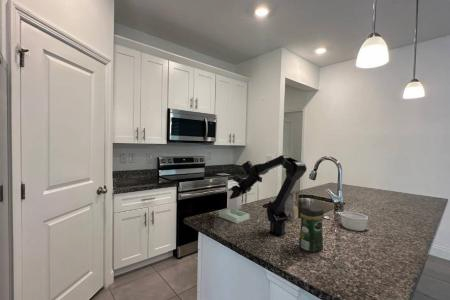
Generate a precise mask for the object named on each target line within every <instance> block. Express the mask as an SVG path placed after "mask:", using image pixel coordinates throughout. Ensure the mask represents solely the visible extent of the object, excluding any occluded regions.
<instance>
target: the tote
mask: <svg viewBox="0 0 450 300" xmlns="http://www.w3.org/2000/svg"><path fill="white" fill-rule="evenodd" d="M218 217H219V218H222V219H224V220H227V221H229V222H232V223H235V224H239V223H242V222H245V221H248V220H250V213H248V212H244V211H241V210H237V211H235V210H229V209H228V208H227V209H223V210H219V211H218Z"/></svg>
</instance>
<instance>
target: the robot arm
mask: <svg viewBox="0 0 450 300" xmlns="http://www.w3.org/2000/svg"><path fill="white" fill-rule="evenodd" d="M240 166H241V169H242V171H243V172H244V174H245V175H246V177H245V178H244V177H242V176H241V175H239V174H234V175H233V176H232V181H233V182H236V183H237V184H235V185H232V186H231V187H230V188H231V190H232V191H233V193H232V194H231V196H230V199H233V198H236V197H239V196H241V197H242V195H245V194H247V193H249V192H250V191H252V187H253V186H254V185H255V184H256V183H257V182H259V183H262V182H263V177H262V176H264V175H266V174H267V173H269V171H270V170H273V169H274V168H277V167H281V166H282V167H283V169H285V178H284V181H283V183H282V185H281V187H280V189H279V191H278V193H277V195H276V197H275V199H274V200H269V201H268V205H267V206H266V213H267V219H268V222H270V224H269V231H268V233H269V234H271V235H273V236H276V237H279V238H280V237H283V236H285V235H286V234H287V232H286V222H288V221H289V220H288V216H287V215H286V213H285V202H286V200H287V198H288V196H289V194H290V192H291V191H293V189H294V186H295V184H296V182H297V181H298V180H299V179H300V178H302V177H303V176H304V174H305V173H306V172H307V169H308V168H307V166H306V163H304V161H299V160H297V159H295V158H293V157H290V156H288V155H287V154H286V155H279V156H277V157H276V158H273V159H271V160H268V161H266V162H263V163H258V164H257V163H256V164H252V161H250V160H247V161H245V162H243V164H241V165H240Z"/></svg>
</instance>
